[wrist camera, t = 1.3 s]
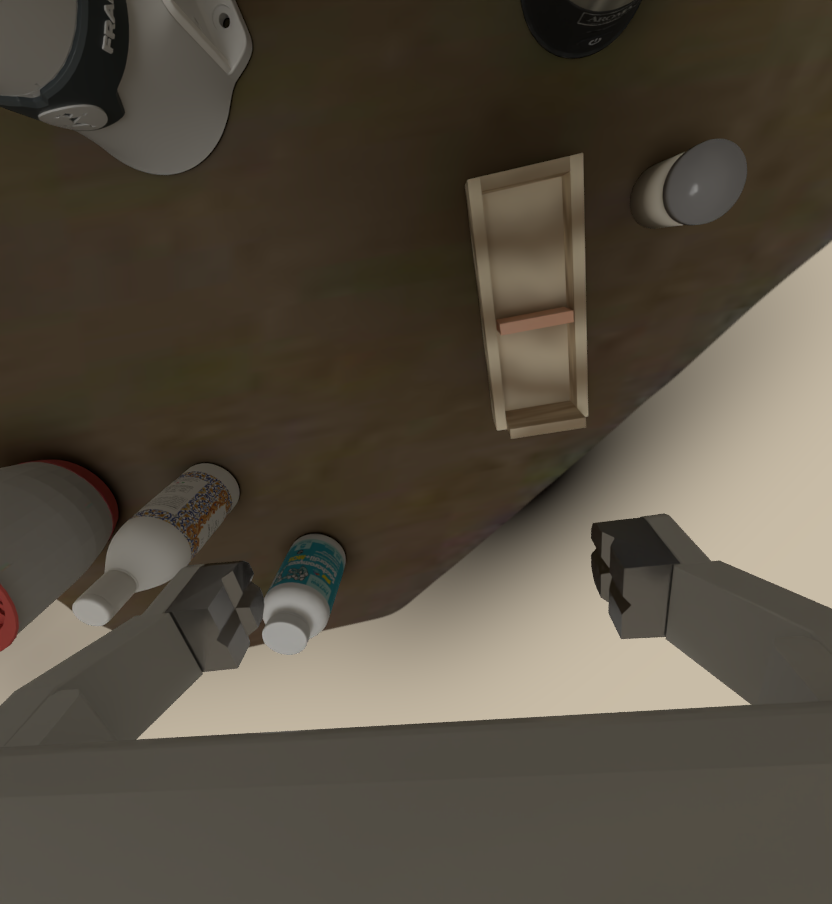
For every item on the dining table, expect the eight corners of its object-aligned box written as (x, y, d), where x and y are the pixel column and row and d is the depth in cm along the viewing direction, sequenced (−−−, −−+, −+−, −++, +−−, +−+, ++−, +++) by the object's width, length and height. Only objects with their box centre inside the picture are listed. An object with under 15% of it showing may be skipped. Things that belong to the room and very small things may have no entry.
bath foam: (233, 518, 53) (127, 655, 35) (179, 497, 52) (42, 627, 34) (247, 475, 50) (140, 600, 32) (191, 452, 49) (47, 567, 31)
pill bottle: (353, 540, 53) (329, 625, 41) (339, 582, 56) (312, 671, 44) (297, 523, 53) (255, 604, 40) (285, 566, 56) (243, 653, 43)
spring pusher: (495, 319, 40) (499, 324, 37) (563, 306, 39) (573, 310, 36) (496, 330, 40) (501, 335, 38) (564, 317, 39) (573, 322, 37)
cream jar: (629, 167, 35) (671, 148, 29) (694, 153, 35) (751, 130, 28) (628, 235, 37) (667, 231, 31) (689, 223, 37) (741, 216, 30)
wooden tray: (464, 186, 36) (469, 174, 31) (569, 162, 35) (594, 144, 30) (492, 418, 45) (500, 440, 40) (577, 404, 44) (596, 425, 39)
